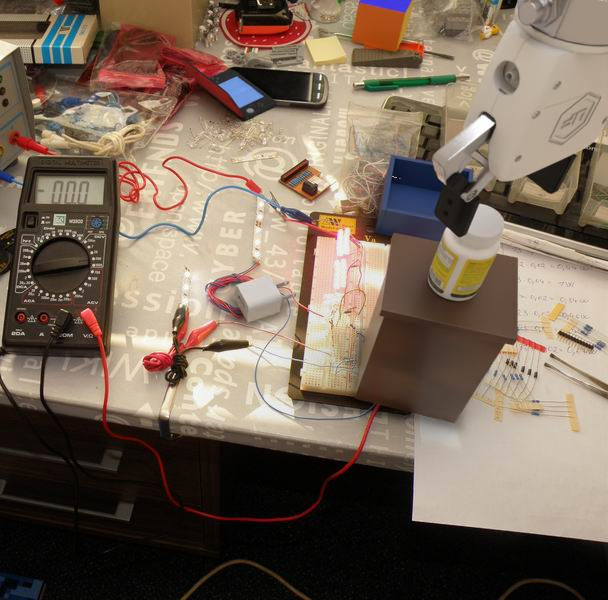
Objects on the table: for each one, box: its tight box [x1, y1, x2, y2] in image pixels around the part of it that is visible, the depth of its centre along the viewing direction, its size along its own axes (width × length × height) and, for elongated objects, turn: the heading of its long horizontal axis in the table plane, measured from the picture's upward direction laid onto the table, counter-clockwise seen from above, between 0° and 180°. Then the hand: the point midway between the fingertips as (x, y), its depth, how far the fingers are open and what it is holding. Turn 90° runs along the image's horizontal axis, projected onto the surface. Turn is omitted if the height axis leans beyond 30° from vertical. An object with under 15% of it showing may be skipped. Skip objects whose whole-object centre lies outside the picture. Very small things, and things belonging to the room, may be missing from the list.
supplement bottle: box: [428, 203, 506, 301], centre depth 59 cm, size 5×5×8 cm
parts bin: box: [374, 154, 475, 242], centre depth 91 cm, size 11×11×5 cm
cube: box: [351, 0, 415, 53], centre depth 117 cm, size 8×8×8 cm
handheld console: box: [180, 57, 277, 123], centre depth 106 cm, size 12×11×7 cm
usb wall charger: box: [234, 274, 297, 324], centre depth 82 cm, size 4×7×4 cm, turn 112°
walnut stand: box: [354, 233, 519, 424], centre depth 70 cm, size 12×10×18 cm
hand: (495, 203), depth 54 cm, fingers open, 9 cm apart
